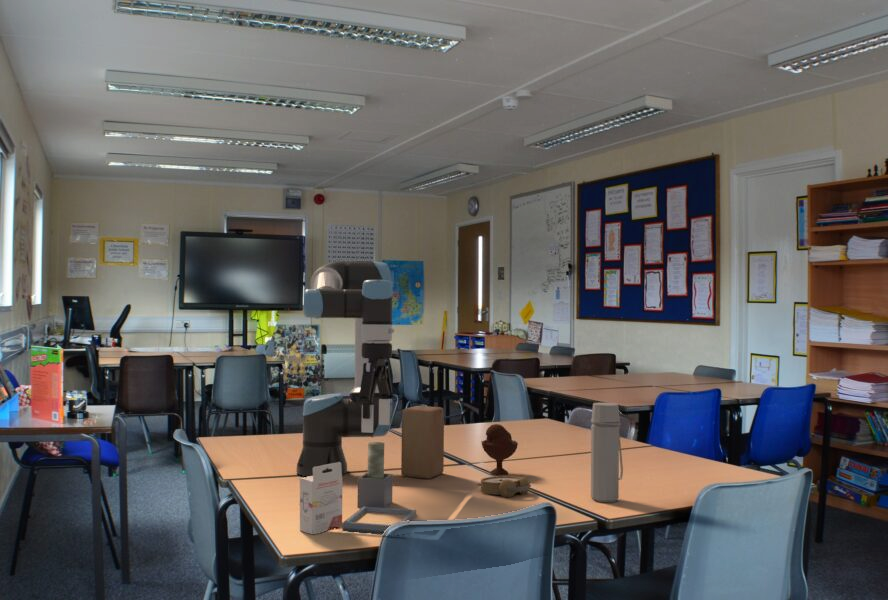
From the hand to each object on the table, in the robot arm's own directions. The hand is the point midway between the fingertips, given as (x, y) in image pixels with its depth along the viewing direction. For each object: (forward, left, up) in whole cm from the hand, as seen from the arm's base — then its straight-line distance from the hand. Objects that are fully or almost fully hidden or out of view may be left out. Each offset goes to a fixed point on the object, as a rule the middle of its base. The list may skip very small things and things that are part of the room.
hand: (376, 428), depth 181 cm
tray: (+5, -13, -20) cm, 24 cm away
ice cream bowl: (+24, +48, -20) cm, 57 cm away
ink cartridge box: (-7, -19, -20) cm, 28 cm away
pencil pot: (0, 0, -20) cm, 20 cm away
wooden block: (+2, +40, -20) cm, 45 cm away
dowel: (0, 0, -19) cm, 19 cm away
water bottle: (+56, +24, -20) cm, 64 cm away
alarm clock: (+29, +25, -20) cm, 43 cm away
